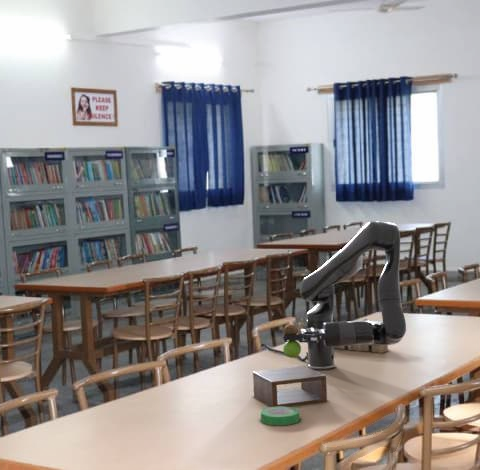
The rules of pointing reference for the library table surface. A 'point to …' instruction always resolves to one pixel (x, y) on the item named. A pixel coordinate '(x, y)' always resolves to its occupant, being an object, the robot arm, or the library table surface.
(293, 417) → the tape roll
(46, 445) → the library table surface
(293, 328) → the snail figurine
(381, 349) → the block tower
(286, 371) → the shelf
